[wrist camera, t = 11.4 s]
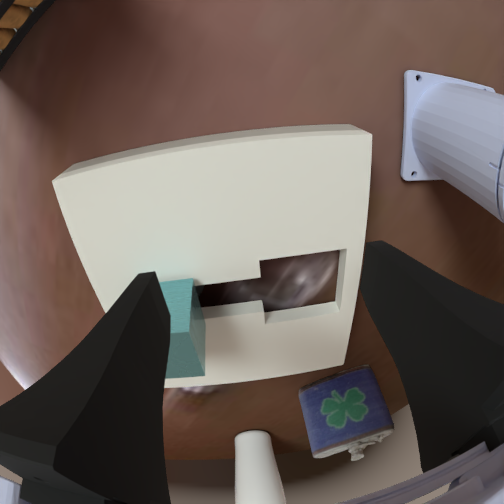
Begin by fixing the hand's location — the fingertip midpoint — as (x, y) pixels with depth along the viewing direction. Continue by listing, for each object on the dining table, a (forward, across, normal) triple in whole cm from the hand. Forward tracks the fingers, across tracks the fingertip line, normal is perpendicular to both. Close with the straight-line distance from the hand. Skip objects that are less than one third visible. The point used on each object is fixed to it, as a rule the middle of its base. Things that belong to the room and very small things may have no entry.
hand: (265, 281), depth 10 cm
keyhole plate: (+10, +2, +7) cm, 13 cm away
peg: (+10, +6, +7) cm, 14 cm away
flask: (+11, -8, +25) cm, 28 cm away
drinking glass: (+11, +3, +38) cm, 40 cm away
